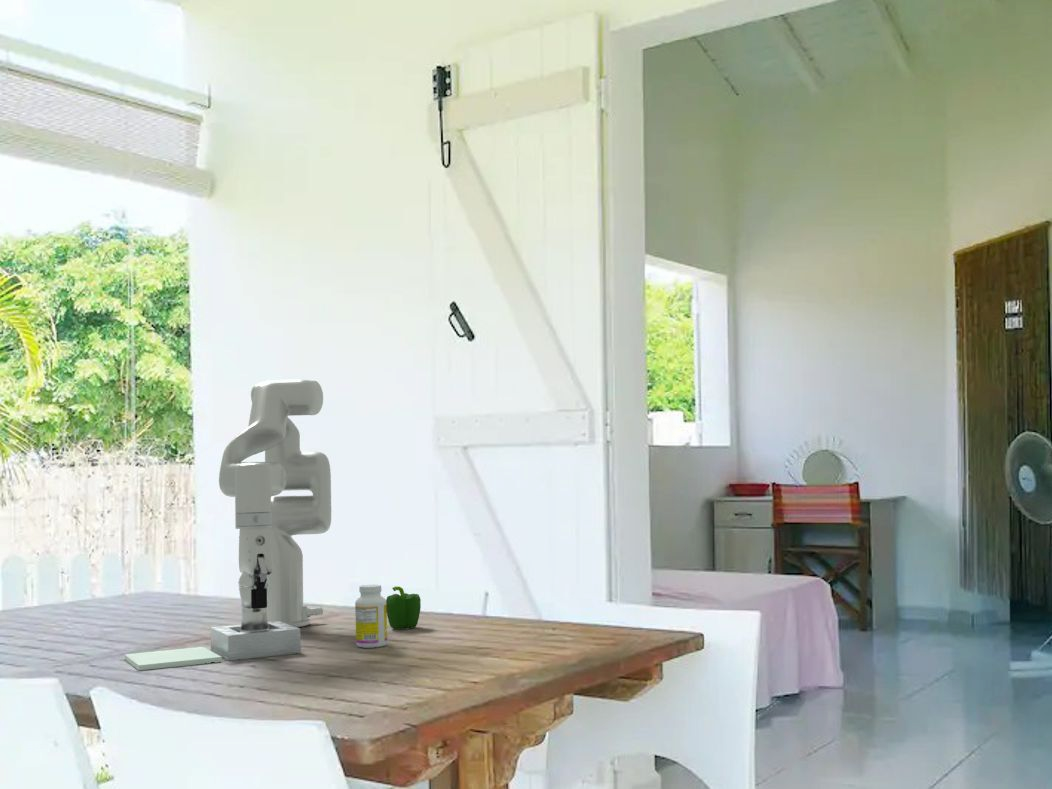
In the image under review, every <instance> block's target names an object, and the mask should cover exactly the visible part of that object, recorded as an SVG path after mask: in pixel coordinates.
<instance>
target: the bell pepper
mask: <svg viewBox="0 0 1052 789" xmlns="http://www.w3.org/2000/svg"><path fill="white" fill-rule="evenodd" d="M392 591H393V592H396V591H399V594H398V593H393V594H391V595H388V596H387V597H386V598H385V599H386V610H387V620H388V623H389V626H390V628H391V629H395V630H404V629H407V628H410V629H414V628H416V626H418V622H419V619H420V614H421V609H422V608H421V605H422V604H421V596H420V595H419V593H418V594H417V593H410V594H409V593H407V592H405V591H404V589H403V588H402V587H401V586H396V585H395V586H393V587H392Z"/></svg>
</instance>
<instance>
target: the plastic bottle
mask: <svg viewBox="0 0 1052 789" xmlns="http://www.w3.org/2000/svg"><path fill="white" fill-rule="evenodd" d="M254 574H259V572H255V573H254ZM266 578H267V581H266V582H267V604H268V591H269V578H268V576H267V577H266ZM256 581H257V578H256ZM238 588H239V589H238V590H239V597H240V604H241V605H240V607H241V623H240V625H241V631H240V632H250V631H261V630H269V628H268V627H269V625H268V615H267V607H266V608H259V609H252V608H251V589H253V586H252V578H251V576H250V575H248V574H246V572H245V571H244V572H243V573H241V574H240V577H239V578H238Z"/></svg>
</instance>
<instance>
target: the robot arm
mask: <svg viewBox="0 0 1052 789" xmlns="http://www.w3.org/2000/svg"><path fill="white" fill-rule="evenodd" d="M250 399H251V400H250V401H251V409H250V414H249V420H248V426H247V427H246V428H244V430H242V431H240V432H239V433H238V434H237V435H236V436H235V437H234V438H233V439H232V440H230V442H229V443H228V444H227V446H226V447H225V449H224V451H223V453H222V458H221V462H220V466H219V467H220V468H219V473H218V474H219V475H218V485H219V486H218V487H219V488H220V492H221V493H222V494H223V495H224V496H226V497H231V498H234V503H235V505H234V507H235V510H234V512H235V514H234V515H235V520H234V521H235V523H234V524H235V529H236V530H239V536H238V567H239V572H240V573H241V574H242V573H243V572H244V571H245V572H246V574H248V575H250V576H251V578H252V586H253V589H251V608H252V609H259V608H266V607H267V615H268V622H275V621H281V622H283V623H286V624H289V625H291V626H294V627H297V628H300V627H306V626H309V625H310V624H311V619H310V618H311V616H315V617H316V616H323V615H324V608H323V607H322V606H321V607H320V606H319V607H309V606H307V605H306V604H305V605H304V567H303V566H304V563H303V561H304V559H303V558H304V556H303V551H302V549H301V547H300V545H299V544H298V543H297V542H296V540H295V539H294V538H293V536H296V535H301V536H302V535H319V534H320V535H321V534H324V533H327V532H328V531H329V529H330V527H331V524H332V477H331V476H332V474H331V473H332V472H331V465H330V461H329V458H328V456H327V455H326V454H325V453H323V452H321V451H301V447H300V446H301V445H300V442H301V440H300V439H301V436H300V433H301V432H300V431H299V429H298V427H297V426H296V425H295V423H294V422H293V421H292V419H291V418H289V416H290V417H291V416H292V417H293V416H316V415H318V414H319V413H320V412H321V410H322V407H323V404H324V392H323V389H322V386H321V384H320V383H319V381H317V380H309V379H278V380H267V381H263V382H259V383H257V384H255V385H253V386H252V388H251V391H250ZM262 452H264V461H249V462H248V461H246V462H244V460H246V459H248V458H250V457H252V456H254V455H257V454H259V453H262ZM283 491H285V492H286V491H288V492H289V491H310V492H311V493H312V495H282V496H281V495H280V494H281V493H282V492H283ZM278 495H279V496H278ZM255 572H259V574H254V573H255ZM267 576H268V578H269V591H268V604H267V582H266V581H267V578H266V577H267ZM256 578H257V581H256Z"/></svg>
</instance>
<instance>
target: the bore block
mask: <svg viewBox="0 0 1052 789" xmlns="http://www.w3.org/2000/svg"><path fill="white" fill-rule="evenodd" d="M268 625H269V627H268V628H269V630H261V631H250V632H240V631H241V624H235V625H233V624H232V625H222V626H220V625H219V626H211V627H210V651H212V652H214V653H216V654H217V655H219V656H221V657H222V659H225V660H226V661H229V660H230V661H238V660H239V659H240V660H248V659H255V658H256V659H257V658H267V657H274V656H275V657H276V656H285V655H296V653H297V654H301V652H302V651H301V650H302V649H301V646H302V645H301V644H302V642H301V628H300V627H294V626H291V625H289V624H286V623H283V622H281V621H275V622H268Z"/></svg>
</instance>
